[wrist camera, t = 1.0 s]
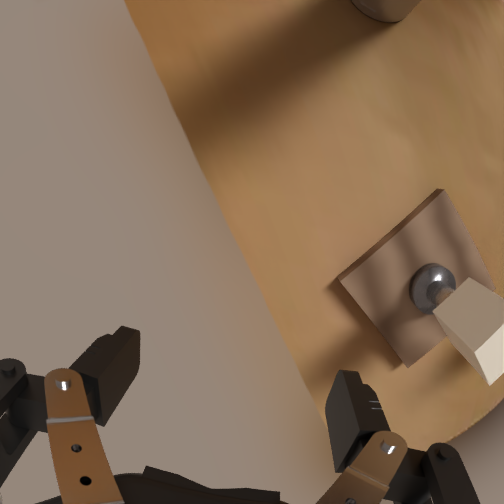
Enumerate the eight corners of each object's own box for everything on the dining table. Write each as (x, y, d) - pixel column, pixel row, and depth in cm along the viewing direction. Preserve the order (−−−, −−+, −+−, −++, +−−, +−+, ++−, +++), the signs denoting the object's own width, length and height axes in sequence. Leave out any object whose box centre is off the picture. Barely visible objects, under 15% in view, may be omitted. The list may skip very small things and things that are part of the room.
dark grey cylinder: (436, 253, 37) (477, 275, 27) (455, 287, 38) (495, 316, 28) (400, 285, 38) (433, 317, 28) (422, 317, 39) (455, 353, 29)
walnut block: (437, 188, 37) (444, 189, 35) (488, 284, 39) (495, 288, 37) (336, 276, 40) (339, 281, 38) (403, 361, 43) (407, 368, 41)
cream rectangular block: (469, 276, 29) (518, 307, 20) (485, 311, 29) (529, 345, 21) (432, 311, 30) (474, 352, 21) (451, 343, 30) (489, 385, 22)
